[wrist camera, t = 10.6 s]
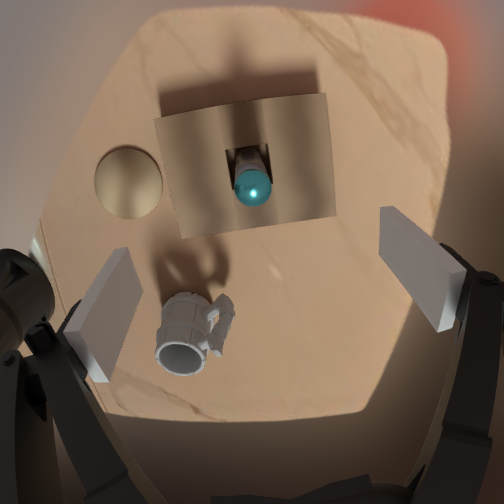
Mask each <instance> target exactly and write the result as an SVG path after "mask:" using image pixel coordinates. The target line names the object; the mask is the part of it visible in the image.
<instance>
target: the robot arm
mask: <svg viewBox="0 0 504 504" xmlns="http://www.w3.org/2000/svg"><path fill="white" fill-rule="evenodd" d="M379 255H380V257H381V258H382V259H383V260H384V262H385V263H386V264H387V265H388V267H389V268H390V269H391V270H392V272H393V273H394V274H395V276H396V277H397V278H398V279H399V281H400V282H401V283H402V285H403V286H404V287H405V289H406V290H407V291H408V293H409V294H410V295H411V297H412V298H413V299H414V301H415V302H416V303H417V305H418V306H419V307H420V309H421V310H422V311H423V313H424V314H425V316H426V317H427V319H428V320H429V321H430V323H431V324H432V326H433V327H434V329H435V330H436V331H437V332H440V331H444V330H447V329H450V328H452V326H453V322H454V319H455V316H456V317H457V318H458V320H459V321H460V325H459V328H458V331H457V334H456V337H455V340H454V343H455V346H454V350H453V354H452V358H451V362H450V366H449V370H448V374H447V378H446V381H445V385H444V388H443V391H442V395H441V398H440V401H439V404H438V407H437V410H436V413H435V416H434V419H433V422H432V425H431V427H430V430H429V433H428V435H427V438H426V440H425V443H424V446H423V448H422V450H421V453H420V455H419V458H418V460H417V462H416V465H415V467H414V469H413V471H412V472H411V474H410V476H409V478H408V480H407V481H406V483H405V485H404V486H401V485H398V484H394V483H388V482H377V481H374V482H371V481H370V477H369V474H366V475H362V476H358V477H354V478H350V479H347V480H343V481H338V482H333V483H330V484H327V485H325V486H323V487H321V488H319V489H316V490H314V491H311V492H309V493H306V494H304V495H301V496H299V497H296V498H293V499H282V498H272V497H263V496H255V495H238V496H215V497H214V496H213V497H211V504H475V503H476V500H477V498H478V494H479V492H480V489H481V485H482V482H483V479H484V476H485V472H486V468H487V465H488V461H489V457H490V453H491V449H492V443H493V442H492V438H490V437H488V432H489V427H490V422H491V417H492V412H493V406H494V400H495V394H496V387H497V379H498V370H499V360H500V347H501V345H502V349H503V354H504V282H501V281H500V279H499V278H498V277H497V276H496V275H494V274H493V273H490V272H487V271H479V272H478V271H476V270H475V269H474V268H473V267H472V266H471V265H470V264H469V263H468V262H467V261H466V260H464V259H462V257H461V256H460V255H459V254H457V252H456V251H454V250H453V249H452V248H451V247H449V246H447V245H445V244H443V243H437V242H436V241H435V240H433V239H432V238H431V237H430V236H429V235H428V234H427V233H425V232H424V231H423V230H422V229H421V228H420V227H418V226H417V225H416V224H415V223H414V222H412V221H411V220H410V219H409V218H407V217H406V216H405V215H404V214H403V213H401V212H400V211H399V210H398V209H396V208H395V207H394V206H387V207H380V238H379ZM142 293H143V289H142V287H141V284H140V281H139V278H138V276H137V273H136V270H135V267H134V264H133V262H132V259H131V256H130V253H129V250H128V247H125V248H120V249H115V250H114V251H113V253H112V254H111V256H110V257H109V259H108V260H107V262H106V263H105V265H104V266H103V268H102V269H101V271H100V272H99V274H98V275H97V277H96V278H95V280H94V281H93V283H92V285H91V286H90V288H89V289H88V291H87V292H86V294H85V296H84V297H83V299H82V300H79V301H78V302H77V303H76V304H75V305H74V306H73V307H72V308H71V310H70V311H69V313H68V315H67V316H66V318H65V321H63V323H62V325H61V326H60V328H59V330H58V331H57V333H55V332H54V330H53V328H52V326H51V325H50V323H49V322H48V321H49V320H50V318H51V317H52V315H53V313H54V308H55V300H54V295H53V291H52V288H51V286H50V284H49V282H48V280H47V278H46V276H45V275H44V273H43V272H42V271H41V269H40V268H39V267H38V266H37V265H36V264H35V263H34V262H33V261H32V260H31V259H30V258H29V257H27V256H26V255H24V254H22V253H21V252H19V251H16V250H13V249H1V250H0V504H65V501H64V497H63V491H62V486H61V481H60V475H59V469H58V462H57V456H56V447H55V440H54V439H55V438H54V428H53V418H54V421H55V424H56V426H57V429H58V431H59V433H60V436H61V438H62V441H63V443H64V446H65V448H66V450H67V453H68V455H69V457H70V459H71V462H72V464H73V465H74V468H75V470H76V472H77V474H78V476H79V478H80V480H81V482H82V484H83V486H84V488H85V490H86V492H87V496H85V497H84V501H85V504H168V503H167V502H166V501H165V499H164V498H163V497H162V496H161V495H160V493H159V492H158V491H157V489H156V488H155V487H154V486H153V484H152V483H151V482H150V480H149V479H148V478H147V477H146V475H145V474H144V473H143V471H142V470H141V469H140V467H139V466H138V464H137V463H136V461H135V460H134V459H133V457H132V456H131V454H130V453H129V451H128V450H127V448H126V447H125V445H124V444H123V442H122V441H121V439H120V438H119V436H118V435H117V433H116V432H115V430H114V428H113V427H112V425H111V423H110V422H109V420H108V419H107V417H106V415H105V413H104V412H103V410H102V408H101V407H100V405H99V403H98V401H97V400H96V398H95V396H94V394H93V392H92V390H91V389H90V387H89V385H88V383H87V382H86V381H85V378H86V376H87V373H88V374H89V375H90V377H91V378H92V380H93V381H94V382H110V380H111V377H112V374H113V371H114V368H115V365H116V362H117V359H118V356H119V353H120V351H121V348H122V345H123V342H124V340H125V337H126V334H127V331H128V329H129V326H130V323H131V321H132V318H133V316H134V313H135V310H136V308H137V305H138V303H139V300H140V298H141V295H142ZM23 341H25V342H26V344H27V346H28V347H29V349H30V350H31V352H32V353H33V355H31V356H28V357H24V358H23V356H22V355H21V353H20V352H19V351H18V348H19V346H20V345H21V343H22V342H23ZM52 415H53V416H52Z"/></svg>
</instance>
